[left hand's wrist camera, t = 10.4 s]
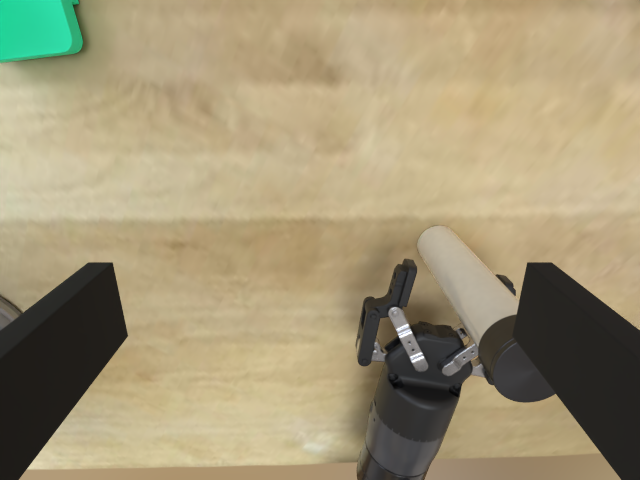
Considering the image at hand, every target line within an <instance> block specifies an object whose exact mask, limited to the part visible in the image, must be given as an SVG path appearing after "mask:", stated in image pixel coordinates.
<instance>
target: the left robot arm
mask: <svg viewBox="0 0 640 480" xmlns="http://www.w3.org/2000/svg"><path fill="white" fill-rule="evenodd" d="M127 337H128V334H127V329H126V324H125V320H124V315H123V310H122V305H121V300H120V296H119V291H118V286H117V281H116V277H115V272H114V267H113V263H87V264H86V265H85V266H83V267H82V268H81V269H79V270H78V271H77V272H75V273H74V274H73V275H72V276H70V277H69V278H68V279H66V280H65V281H64V282H63V283H61V284H60V285H59V286H57V287H56V288H55V289H53V290H52V291H51V292H50V293H48V294H47V295H46V296H44V297H43V298H42V299H41V300H39V301H38V302H37V303H35V304H34V305H33V306H31V307H30V308H29V309H28V310H26V311H25V312H24V313H22V314H21V313H20V312H19V311H18V310H17V309H16V308H15V307H14V306H13V305H11V304H10V303H9V302H7V301H6V300H5V299H3V298H1V297H0V480H19V478H20V477H21V476H22V474H23V473H24V472H25V471H26V469H27V468H28V467H29V465H30V464H31V463H32V461H33V460H34V459H35V457H36V456H37V455H38V453H39V452H40V451H41V450H42V448H43V447H44V446H45V444H46V443H47V442H48V440H49V439H50V438H51V436H52V435H53V434H54V432H55V431H56V430H57V429H58V427H59V426H60V425H61V423H62V422H63V421H64V419H65V418H66V417H67V415H68V414H69V413H70V411H71V410H72V409H73V408H74V406H75V405H76V404H77V402H78V401H79V400H80V398H81V397H82V396H83V394H84V393H85V392H86V390H87V389H88V388H89V386H90V385H91V384H92V383H93V381H94V380H95V379H96V377H97V376H98V375H99V373H100V372H101V371H102V369H103V368H104V367H105V365H106V364H107V363H108V362H109V360H110V359H111V358H112V356H113V355H114V354H115V352H116V351H117V350H118V348H119V347H120V346H121V344H122V343H123V342H124V341H125V339H126V338H127ZM512 337H513V338H514V339H515V341H516V342H517V343H518V344H519V346H520V347H521V348H522V350H523V351H524V352H525V354H526V355H527V356H528V358H529V359H530V360H531V362H532V363H533V364H534V365H535V367H536V368H537V369H538V371H539V372H540V373H541V375H542V376H543V377H544V379H545V380H546V381H547V383H548V384H549V385H550V386H551V388H552V389H553V390H554V392H555V393H556V394H557V396H558V397H559V398H560V400H561V401H562V402H563V404H564V405H565V406H566V408H567V409H568V410H569V411H570V413H571V414H572V415H573V417H574V418H575V419H576V421H577V422H578V423H579V425H580V426H581V427H582V429H583V430H584V431H585V432H586V434H587V435H588V436H589V438H590V439H591V440H592V442H593V443H594V444H595V446H596V447H597V448H598V450H599V451H600V452H601V453H602V455H603V456H604V457H605V459H606V460H607V461H608V463H609V464H610V465H611V467H612V468H613V469H614V471H615V472H616V473H617V474H618V476H619V477H620V478H621V480H640V330H638V329H637V328H636V327H634V326H633V325H632V324H631V323H629V322H628V321H627V320H625V319H624V318H623V317H621V316H620V315H619V314H618V313H616V312H615V311H614V310H612V309H611V308H610V307H609V306H607V305H606V304H605V303H603V302H602V301H601V300H599V299H598V298H597V297H596V296H594V295H593V294H592V293H590V292H589V291H588V290H587V289H585V288H584V287H583V286H581V285H580V284H579V283H577V282H576V281H575V280H574V279H572V278H571V277H570V276H568V275H567V274H566V273H565V272H563V271H562V270H561V269H559V268H558V267H557V266H555V265H554V264H553V263H527V267H526V272H525V277H524V281H523V286H522V291H521V296H520V300H519V305H518V310H517V315H516V320H515V324H514V329H513V334H512Z"/></svg>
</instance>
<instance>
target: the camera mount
mask: <svg viewBox="0 0 640 480" xmlns="http://www.w3.org/2000/svg"><path fill="white" fill-rule="evenodd" d="M75 4H79V2H78V0H0V63H3V62H11V61H19V60H27V59H36V58H44V57H52V56H60V55H68V54H75V53H77V52H79V51H80V50H81V48H82V45H83V39H82V35H81V32H80V29H79V25H78V22H77V18H76V15H75V12H74V8H73V5H75Z"/></svg>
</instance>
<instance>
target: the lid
mask: <svg viewBox="0 0 640 480" xmlns="http://www.w3.org/2000/svg"><path fill="white" fill-rule="evenodd" d="M516 315H517V314H515V315H510V316H507V317H504V318H502V319H500V320H498V321H497V322H495V323H494V324H492V325H491V326H490V327H489V328H488V329H487V330H486V331H485V333H484V334H483V336H482V337H481V339H480V342H479V346H478V356H479V360H480V362H481V364H482V366H483V367H484V369H485V371H486V372H487V374H488V376H489V377H490V379H491V381H492V382H493V384H494V386H495V387H496V389H497V390H498V391H499V393H501V394H502V395H503V396H504V397H506V398H508V399H510V400H513V401H517V402H536V401H540V400H543V399H546V398H548V397H551V396H552V395H554V394H556V393H555V392H554V390H553V389H552V388H551V386H550V385H549V384H548V383H547V381H546V380H545V379H544V377H543V376H542V375H541V373H540V372H539V371H538V369H537V368H536V367H535V365H534V364H533V363H532V362H531V360H530V359H529V358H528V356H527V355H526V354H525V352H524V351H523V350H522V348H521V347H520V346H519V344H518V343H517V342H516V341H515V339H514V338H513V337H512V334H513V329H514V324H515V320H516Z"/></svg>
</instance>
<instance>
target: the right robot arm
mask: <svg viewBox="0 0 640 480" xmlns="http://www.w3.org/2000/svg"><path fill="white" fill-rule="evenodd" d="M416 273H417V266H416V265H415V263H414V261H413V260H410V259H404V261H403V264H402V265H401V264H398V265H397V266H396V267H395V269H394V272H393V276H392V280H391V283H390V287H389V290H388V293H387V295H386V296H384V297H382V298H377V299H375V298H374V297H367V298H365V299H364V302H363V307H362V313H361V318H360V324H359V329H358V334H357V340H356V352H357V358H358V363H359V364H360V365H361V366H368V365H369V364H370V363H371V361H380V362H385V364H384V366H383V369H382V373H381V376H380V380H379V383H378V386H377V390H376V393H375V396H374V400H373V401H372V403H371V406H370V413H369V417H368V424H367V432H366V436H365V439H364V443H363V446H362V449H361V452H360V455H359V459H358V464H357V479H358V480H424V479H425V476H426V474H427V471H428V469H429V466H430V464H431V462H432V460H433V459H434V458H435V456H436V454H437V452H438V451H439V448H440V446H441V443H442V441H443V438H444V436H445V433H446V431H447V428H448V426H449V423H450V421H451V418H452V416H453V413H454V411H455V408H456V406H457V403H458V400H459V397H460V392H461V386H462V383H463V382H464V381H465V380H466V379H467V378H468V377H469V376H470V375H475V376H480V377H485V378H486V380H487V381H488V383H489V384H490V385H494V384H493V382H492V381H491V379H490V377H489V376H488V374H487V372H486V371H485V369H484V367H483V366H482V364H481V362H480V360H479V356H478V357H477V359H475V360H473V361H471V359H473V358H474V357H476V356H477V355H478V348H477V347H476V345H475V344H474V342H473V340H472V339H471V337H470V335H469V334H468V332H467V331H466V329H465V327H464V326H463V324H462V323H460V324H459V325H457V326H456V327H454V328H453V329H452V328H451V326H447V325H432V324H429V323H427V322H421V321H419V323H418V324H414V325H412V326H411V325H410V323H409V321H408V319H407V317H406V315H405V313H404V311H403V309H402V307H407V303H408V300H409V297H410V293H411V290H412V287H413V283H414V280H415V277H416ZM495 276H496V277H497V278H498V279H499V280H500V281H501V282H502V283H503V284H504V285H505V286H506V287H507V288H508V289H509V290H510V291H511V293H512V294H513V295H514V296H516V290H515V289H514V288H513V283H512V282H511V281H510V280H509V279H508V278H507V277H506V276H504V275H498V274H497V275H495ZM385 317H390V319H391V321H392V323H393V325H394V327H395V329H396V331H397V334H398V336H397V337H396V338H394V339H393V340H392V341H390V342H389V343H388V344H387V345H386V346H385V347H384V348H382V347H381V346H380V343H379V340H378V338H376V335H377V331H378V326H379V321H380V318H385ZM466 336H468V337H469V339H470V341H469V343H468V344H467V345H465V346H464V343H463V341H462V339H463V338H464V337H466Z"/></svg>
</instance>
